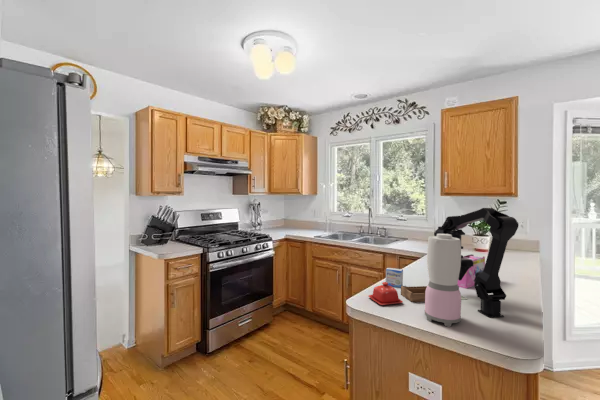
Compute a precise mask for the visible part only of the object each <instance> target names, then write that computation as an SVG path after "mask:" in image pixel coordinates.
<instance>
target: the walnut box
mask: <svg viewBox="0 0 600 400" xmlns="http://www.w3.org/2000/svg"><path fill="white" fill-rule="evenodd" d="M427 286H428V285H427ZM427 286H425V285H419V286H401V288H400V296H402V297H403V298H405V299H406V300H408V301H409V302H410V303H425V291H426V288H427Z"/></svg>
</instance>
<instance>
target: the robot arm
mask: <svg viewBox="0 0 600 400" xmlns="http://www.w3.org/2000/svg"><path fill="white" fill-rule="evenodd" d="M483 220H484V222H485V223H486V225H487V226H489V231H490V235H491V237H492V238H491V242H490V246H489V250H488V252H487V257H486V259H485V267H484V270H483V271H482V272H477V273H476V277H475V280H474V281H475V283H474V286H473V287H474V289H475V293H476V297H477V298H479V300H480V309H477V312H479V313H480V314H482V315H484V316H486V317H488V318H503V317H505V315H503V314H502V312H501V311H502V310H501V308H502V302H501V301H502V300H506V299H507V294H506V292H505V291H504V290H503V288H502V286H501V278H500V276H499V272H500V270H501V266H502V263H503V260H504V255H505V252H506V250H507V249H506V248H507V245H508V242H509V241H510V240H511V239H512V238H513V237H515V234H516V233H517V230H518V229H519V222H518V220H517V219H516V218H515V217H513V216H509V215H508V214H506V213H503V212H501V211H498V210H497V209H495V208H492V207H482V208H480V209H476V210H474V211H472V212H467V213H465V214H463V215H452V216H447V217H446V218H445V221H444V222H443V223H442V225H441V226H437V229H436V230H435V231H434V234H433V236H437V234H450V235H452V237H454V238H458V239H460V240H461V241H462V236H465V235H466V233H465V232H464V231H463V229H464V228H466V227H467V226H468V225H469V224H472V223H476V222H478V221H479V222H480V221H483ZM461 250H464V246H462V245H461ZM463 256H464V255H462V254H461V267H460V273H459V278H458V279H459V280H462V278H463V277H464V275H465V273H466V272H467V271H468V269H469V268H471V266H474V262H473V261H472V260H471V259H468V258H463Z"/></svg>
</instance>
